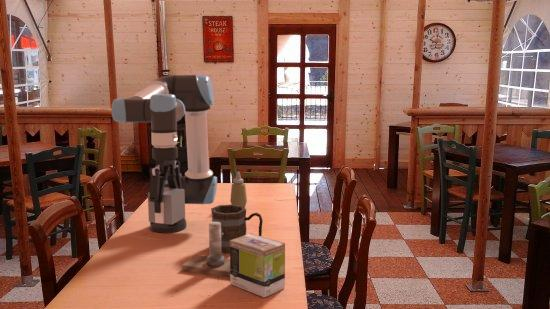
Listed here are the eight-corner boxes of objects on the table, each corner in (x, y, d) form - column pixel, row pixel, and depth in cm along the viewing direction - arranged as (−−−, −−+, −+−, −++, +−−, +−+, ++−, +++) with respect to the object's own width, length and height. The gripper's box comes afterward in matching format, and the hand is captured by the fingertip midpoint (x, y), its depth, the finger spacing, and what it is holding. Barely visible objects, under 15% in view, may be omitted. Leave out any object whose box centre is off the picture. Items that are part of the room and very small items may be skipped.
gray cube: (148, 221, 151) (147, 193, 149) (162, 214, 158) (161, 187, 157) (172, 224, 148) (171, 195, 147) (185, 217, 156) (184, 189, 154)
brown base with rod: (182, 270, 167) (180, 224, 164) (196, 259, 176) (194, 216, 173) (237, 278, 160) (236, 231, 158) (248, 267, 170) (248, 222, 167)
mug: (207, 252, 183) (206, 213, 180) (216, 240, 196) (215, 203, 193) (259, 255, 180) (259, 215, 178) (265, 242, 194) (265, 205, 191)
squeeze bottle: (246, 210, 237) (246, 173, 234) (229, 210, 237) (229, 173, 234) (247, 206, 245) (247, 170, 242) (231, 205, 245) (230, 170, 242)
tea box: (286, 288, 154) (286, 242, 151) (263, 299, 146) (263, 251, 144) (251, 274, 164) (251, 231, 161) (229, 284, 156) (228, 239, 154)
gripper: (157, 152, 139) (160, 230, 142) (192, 141, 158) (194, 210, 162) (133, 150, 141) (137, 227, 145) (171, 140, 160) (173, 208, 164)
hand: (167, 218), depth 153 cm, fingers closed on gray cube, 8 cm apart
